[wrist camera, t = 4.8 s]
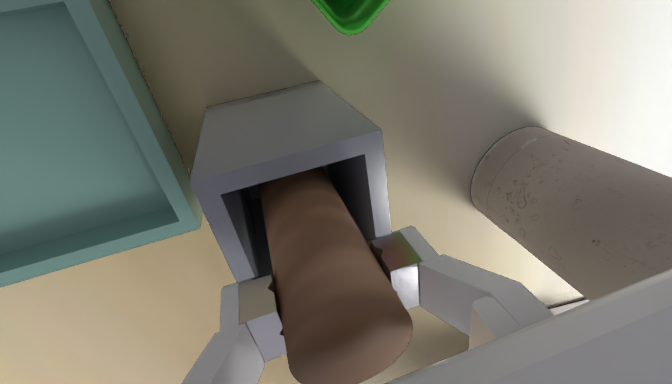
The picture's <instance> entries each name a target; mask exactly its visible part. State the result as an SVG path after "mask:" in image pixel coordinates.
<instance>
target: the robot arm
mask: <svg viewBox="0 0 672 384" xmlns="http://www.w3.org/2000/svg"><path fill="white" fill-rule="evenodd" d="M369 247H370V249H371V251H372V252H373V254H374V256H375V257H376V259H377V261H378V262H379V264H380V266H381V268H382V269H383V271H384V273H385V274H386V276H387V278H388V279H389V281H390V283H391V285H392V286H393V288H394V290H395V291H396V293H397V295H398V296H399V298H400V300H401V302H402V303H403V305H404V307H405V308H406V310H407V309H410V308H413V307H416V306H419V305H421V307H422V308H424V309H425V310H427V311H429V312H430V313H432V314H434V315H435V316H437V317H438V318H440V319H442V320H443V321H445V322H447V323H448V324H450V325H451V326H453V327H455V328H456V329H458V330H459V331H461V332H463V333H464V334H466V335H468V336H469V347H468V350H467V351H464V352H462V353H459V354H457V355H454V356H452V357H449V358H447V359H444V360H442V361H439V362H437V363H434V364H432V365H429V366H427V367H424V368H422V369H419V370H417V371H414V372H412V373H409V374H407V375H404V376H402V377H399V378H397V379H394V380H392V381H389V382H387V383H384V384H672V269H669V270H667V271H664V272H662V273H659V274H657V275H654V276H652V277H649V278H647V279H644V280H642V281H639V282H637V283H634V284H632V285H629V286H627V287H624V288H622V289H619V290H617V291H614V292H612V293H609V294H607V295H604V296H602V297H599V298H597V299H594V300H592V301H589V300H588V299H587V300H583V301H579V302H575V303H571V304H567V305H564V306H560V307H556V308H552V309H548V308H547V307H546V306H545V305H544V304H543V303H541V302H540V301H539V300H538V299H537V298H536V297H535V296H534V295H533V294H532V293H531V292H530V291H529V290H528V289H527V288H526V287H525V286H523V285H522V284H521V283H520V282H518V281H515V280H512V279H509V278H507V277H504V276H501V275H498V274H496V273H493V272H490V271H487V270H485V269H482V268H479V267H476V266H474V265H471V264H468V263H465V262H463V261H460V260H457V259H455V258H452V257H449V256H446V255H440V256H439V255H438V254H437V253H436V251H435V250H434V249H433V248H432V247H431V246H430V244H429V243H428V242H427V241H426V240H425V239H424V238H423V236H422V235H421V234H420V233H419V232H418V231H417V229H416V228H415V227H414V226H409V227H406V228H403V229H400V230H398V231H395V232H392V233H389V234H386V235H383V236H380V237H377V238H374V239H371V240H369ZM284 354H287V352H286V346H285V340H284V334H283V328H282V321H281V315H280V309H279V304H278V298H277V291H276V285H275V279H274V276H273V274H272V272H269V273H266V274H263V275H260V276H256V277H253V278H250V279H246V280H243V281H240V282H237V283H234V284H231V285H227V286H224V287H223V288H222V290H221V311H220V332H218V333H215V334H214V335H213V337H212V338H211V340H210V341H209V343H208V344H207V346H206V347H205V349H204V350H203V352H202V353H201V355H200V356H199V358H198V360H197V361H196V363H195V364H194V366H193V367H192V369H191V370H190V372H189V373H188V375H187V376H186V378H185V379H184V381H183V382H182V384H258V382H259V379H260V376H261V374H262V371H263V369H264V366H265V362H267V361H269V360H272V359H274V358H277V357H279V356H282V355H284Z"/></svg>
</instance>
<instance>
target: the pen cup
mask: <svg viewBox="0 0 672 384" xmlns="http://www.w3.org/2000/svg"><path fill="white" fill-rule="evenodd" d="M320 166H322V167H323V169H324V171H325V172H326V174H327V176H328V177H329V179H330V181H331V183H332V184H333V186H334V188H335V189H336V191H337V193H338V194H339V196H340V198H341V200H342V201H343V203H344V205H345V206H346V208H347V210H348V211H349V213H350V215H351V217H352V218H353V220H354V222H355V223H356V225H357V227H358V228H359V230H360V232H361V234H362V235H363V237H364V239H365V240H366V242H367V244H368V245H369V240H371V239H374V238H377V237H380V236H383V235H386V234H389V233H392V231H391V221H390V210H389V200H388V189H387V179H386V168H385V158H384V148H383V137H382V130H381V129H380V128H379V127H378V126H376V125H375V124H374V123H373V122H371V121H370V120H369V119H368V118H366V117H365V116H364V115H363V114H361V113H360V112H359V111H358V110H356V109H355V108H354V107H353V106H351V105H350V104H349V103H348V102H346V101H345V100H344V99H343V98H341V97H340V96H339V95H338V94H336V93H335V92H334V91H333V90H331V89H330V88H329V87H328V86H326V85H325V84H324V83H323V82H321V81H320V80H319V81H315V82H311V83H307V84H302V85H298V86H294V87H290V88H286V89H281V90H277V91H273V92H269V93H265V94H261V95H256V96H252V97H248V98H244V99H240V100H236V101H231V102H227V103H223V104H219V105H215V106H211V107H207V108H206V112H205V116H204V121H203V125H202V130H201V134H200V138H199V143H198V147H197V151H196V156H195V160H194V164H193V169H192V173H191V178H190V184H191V187H192V189H193V191H194V193H195V195H196V197H197V199H198V201H199V204H200V206H201V208H202V210H203V212H204V214H205V216H206V218H207V221H208V223H209V225H210V227H211V229H212V231H213V233H214V235H215V238H216V240H217V242H218V244H219V246H220V248H221V250H222V252H223V255H224V257H225V259H226V261H227V263H228V265H229V267H230V270H231V272H232V274H233V276H234V278H235V280H236V282H240V281H243V280H246V279H250V278H253V277H256V276H260V275H263V274H266V273H269V272H272V274H273V268H272V262H271V257H270V251H269V245H268V239H267V233H266V227H265V221H264V215H263V209H262V203H261V197H260V191H259V185H258V184H260V183H263V182H267V181H270V180H274V179H277V178H281V177H284V176H288V175H292V174H295V173H299V172H302V171H306V170H309V169H313V168H316V167H320ZM273 276H274V274H273Z"/></svg>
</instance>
